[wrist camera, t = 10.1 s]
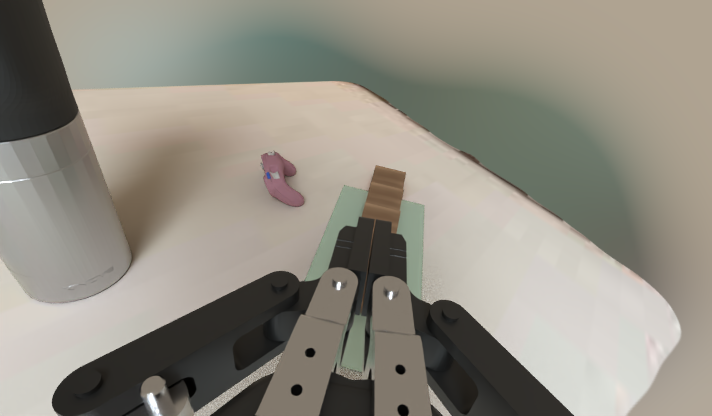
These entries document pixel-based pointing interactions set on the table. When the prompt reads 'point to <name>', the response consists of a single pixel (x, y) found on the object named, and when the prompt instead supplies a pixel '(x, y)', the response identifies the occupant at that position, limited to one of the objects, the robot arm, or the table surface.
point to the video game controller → (280, 178)
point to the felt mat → (349, 214)
